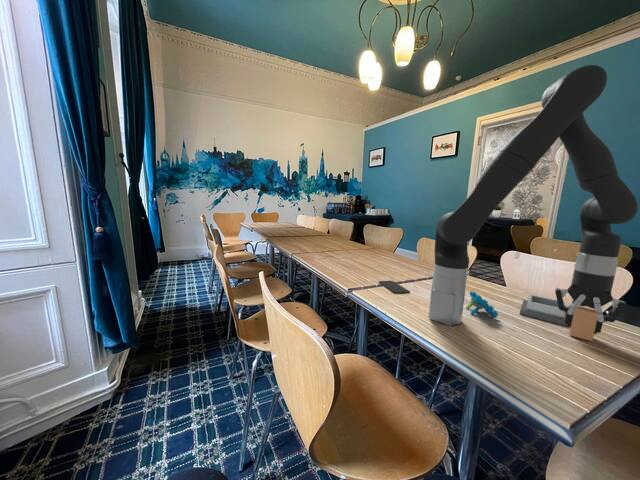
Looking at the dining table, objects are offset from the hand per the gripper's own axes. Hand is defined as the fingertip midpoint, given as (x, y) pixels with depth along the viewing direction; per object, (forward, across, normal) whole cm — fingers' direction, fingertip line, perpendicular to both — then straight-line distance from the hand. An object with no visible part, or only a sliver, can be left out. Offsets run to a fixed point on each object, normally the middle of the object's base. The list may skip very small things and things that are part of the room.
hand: (581, 329), depth 71 cm
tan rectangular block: (+2, 0, 0) cm, 2 cm away
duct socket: (+2, -8, +12) cm, 15 cm away
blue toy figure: (+3, -23, -4) cm, 24 cm away
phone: (+3, -56, -2) cm, 56 cm away
